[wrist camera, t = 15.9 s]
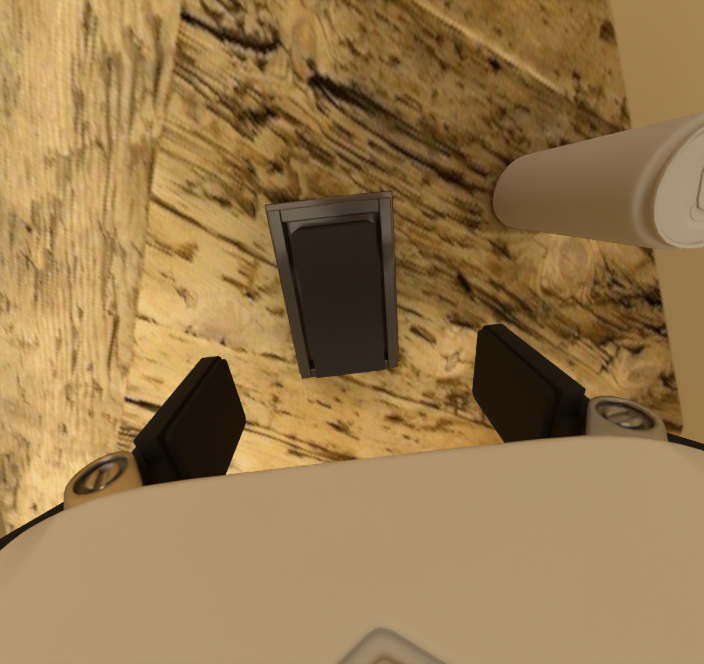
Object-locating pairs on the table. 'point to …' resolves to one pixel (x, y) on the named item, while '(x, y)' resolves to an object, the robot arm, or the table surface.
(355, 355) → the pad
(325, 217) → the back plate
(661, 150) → the beverage can
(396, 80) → the table surface
